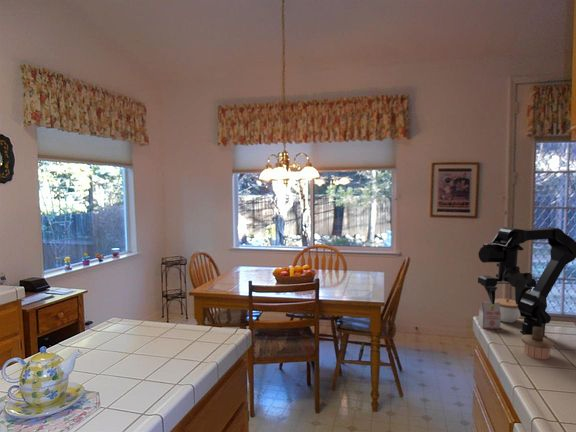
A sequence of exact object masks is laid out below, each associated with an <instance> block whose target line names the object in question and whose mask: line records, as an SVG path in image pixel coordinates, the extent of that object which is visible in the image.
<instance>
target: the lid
mask: <svg viewBox="0 0 576 432" xmlns="http://www.w3.org/2000/svg"><path fill="white" fill-rule="evenodd" d="M543 332H544V329H543V328H541V327H537V326H534V327H533V333H532V335H524V334H523V335H521V342H522V343H523V344H524V343H525V344H528V345H530V346H534V347H538V348H550V349H553V348H554V347H555V342H554V341H553V340H551V339H549V338H548V337H547V338H545V337H543Z"/></svg>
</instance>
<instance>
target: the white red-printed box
mask: <svg viewBox="0 0 576 432" xmlns="http://www.w3.org/2000/svg"><path fill="white" fill-rule="evenodd" d="M500 320H501V312H500V305H499V302H495V303H494V304H492V303H491V301H481V303H480V307H479V310H478V323H477V325H478V326H479V327H480V328H482V329H490V330H491V329H493V330H494V329H495V330H496V329H497V330H500V329H501V321H500Z"/></svg>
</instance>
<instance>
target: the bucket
mask: <svg viewBox="0 0 576 432" xmlns="http://www.w3.org/2000/svg"><path fill="white" fill-rule="evenodd" d="M523 345H524V346H523V353H524V354H525V355H527V356H528V357H530V358H533V359H537V360H548V359H550V358H551V357H550V356H551V355H550V354H551V348H538V347H534V346H530V345H528V344H525V343H524V342H523Z"/></svg>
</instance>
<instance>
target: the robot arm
mask: <svg viewBox="0 0 576 432" xmlns="http://www.w3.org/2000/svg"><path fill="white" fill-rule="evenodd" d="M537 240H539V241H540V240H547V244H548V245H549V246H550V247H551V248H550V250H549V253H550V259H549V261H548V262H547V265H546V267H545V268H544V270H543V271H542V273H541V275H540V276H539V278H538V280H537V281H536V279H535V278H533V274H532V273H530V272H521V270H520V266H518V255H519V254H518V253H519V251H524V247H522V245H520V244H523V243H525V242H528V241H537ZM478 258H479V260H480V262H481V263H483V264H484V263H490V264H491V263H493V264H495V263H496V267H498V273H496V274H495V277H493V276H491V275H479V277H478V278H477V283H478V284H480V286H483V288H484V289H485V291H486V292H487V295H488V298H489V300H490V301H489V302H491V303H492V304H494V303H495V299H496V291H497V289H498V287H497V285H498V284H499V285H500V284H504V285H506V284H507V285H510V286H511V287H513V288H514V291H515V292H514V296H515V298H514V299H515V300H514V301H516V304H517V305H518V309H519V311H520V316H521V317H523V321H522V326H521V327H522V328H521V330H520V331H519V332H520V333H521V334H523V335H532V333H533V327H534V326H537V327H541V328H543V329H544V332H543V337H545V338H548V336H547V335H546V334H545V331H546V325H547V324H550V322H551V319H552V317H551V316H550V314H549V313H548V312H547V311H546V310H547V307H548V303H547V301H548V300H547V298H548V296H549V294H550V292H551V291H552V289H553V287H554V285H555V284H556V282H557V281H558V278H559V277H560V275H561V274H562V272H563V271H564V268H565V267H566V265H568V264H570V263H571V262H573V261H575V260H576V241H575V239H574V238H572V237H571V236H570V235H568V234H566V233H565V232H564V231H563V230H562V229H560V228H558V227H551V226H548V227H540V228H538V227H537V228H525V229H519V228H514V227H507V226H504V227H503V226H502V227H500V229H499V231H498V232H497V234H496V235H495V237H494V238H493V239H492V240H491V242H490V243H483V245H482V246H481V247H480V249H479V251H478ZM529 290H531V291H530V292H527V291H529Z"/></svg>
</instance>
